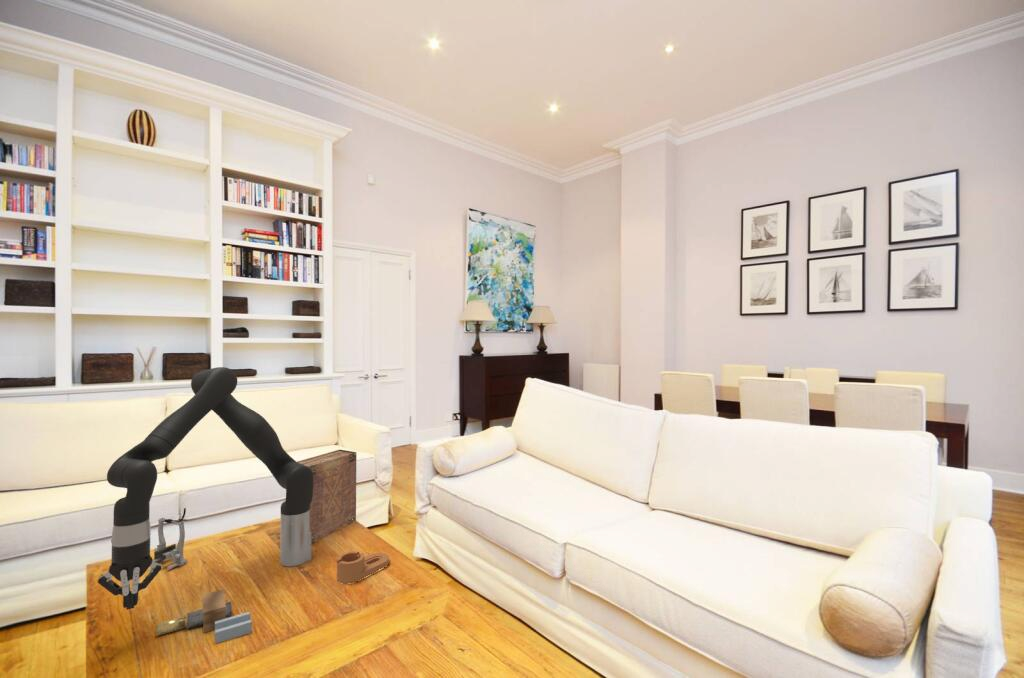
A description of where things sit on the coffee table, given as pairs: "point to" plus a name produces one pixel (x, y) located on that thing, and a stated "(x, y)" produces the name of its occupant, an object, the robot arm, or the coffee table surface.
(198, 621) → the axle
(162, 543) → the bike brake
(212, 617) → the beam
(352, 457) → the book
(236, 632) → the cradle
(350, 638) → the coffee table surface
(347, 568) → the bracket
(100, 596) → the coffee table surface
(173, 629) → the cylinder
